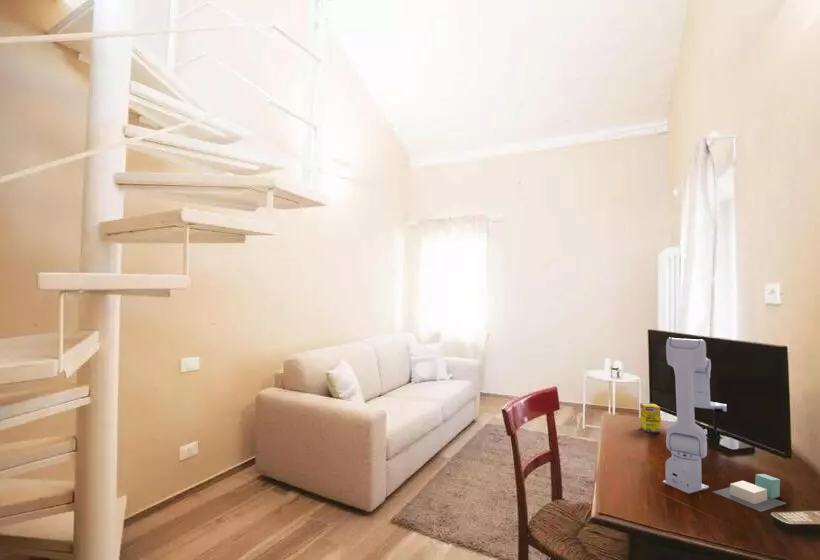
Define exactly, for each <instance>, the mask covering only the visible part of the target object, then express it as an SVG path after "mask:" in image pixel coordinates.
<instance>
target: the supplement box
mask: <svg viewBox="0 0 820 560" xmlns="http://www.w3.org/2000/svg"><path fill="white" fill-rule="evenodd" d="M639 406H640V409H639V410H640V415H639V416H640V420H639V421H640V429H641V430H642V431H643V432H645V433H650V434H651V433H653V434H661V407H660V406H659V405H657V404H655V403H642V402H641V403H640V405H639Z"/></svg>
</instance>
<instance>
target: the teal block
mask: <svg viewBox="0 0 820 560" xmlns="http://www.w3.org/2000/svg"><path fill="white" fill-rule="evenodd" d="M754 479H755V481H754V482H755V483H754V485H757V486H759V487H762V488H765V489H767V497H769V498H771V499H772V498H774V499H776V498H780V496H781V495H780V494H781V492H780V491H781V479H780V478H777V477H773V476H772V475H769V474H765V473H758V474H755V478H754Z"/></svg>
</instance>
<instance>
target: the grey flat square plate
mask: <svg viewBox="0 0 820 560" xmlns="http://www.w3.org/2000/svg"><path fill="white" fill-rule="evenodd" d="M713 493H714V494H717V495H719V496H721V497H724V498H726V499H728V500H731V501H733V502H735V503H738V504H741V505H743V506H746V507H748V508H749V509H753V510H756V511H757V512H760V513H761V512H765V511H768V510H771V509H773V508H776V507H780V506H784V505H787V502H786V501H785V502H784V501H782V500H779V499H776V498H772V499H771V498H769V497H767V500H766V501H763V502H760V503H757V504H753V503H750V502H748V501H745V500H743V499H740V498H738V497H735V496H733V495H730V486H728V487H725V488H721V489H718V490H714V491H713Z"/></svg>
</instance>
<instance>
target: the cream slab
mask: <svg viewBox="0 0 820 560" xmlns="http://www.w3.org/2000/svg"><path fill="white" fill-rule="evenodd" d="M729 487H730V495H733V496H735V497H738V498H740V499H743V500H745V501H748V502H750V503H753V504H757V503H760V502H763V501H766V500H767V489H765V488H762V487H759V486H757V485H755V483H751V482H748V481H745V480H739V481H735V482H731V483H729Z"/></svg>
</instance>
